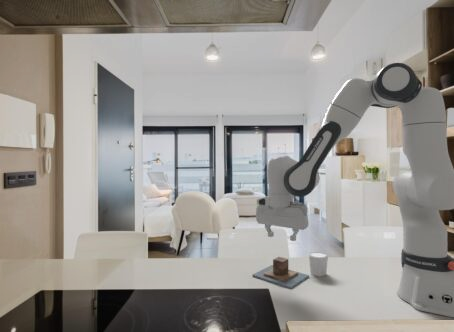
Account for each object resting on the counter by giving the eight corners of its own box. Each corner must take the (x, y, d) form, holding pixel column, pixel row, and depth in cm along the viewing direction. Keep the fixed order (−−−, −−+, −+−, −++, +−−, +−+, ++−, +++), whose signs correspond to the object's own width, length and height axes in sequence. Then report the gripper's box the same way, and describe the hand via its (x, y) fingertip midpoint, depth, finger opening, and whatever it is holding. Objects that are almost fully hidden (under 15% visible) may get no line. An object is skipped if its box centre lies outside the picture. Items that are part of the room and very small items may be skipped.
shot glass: (305, 271, 111) (304, 253, 110) (318, 268, 114) (318, 250, 113) (317, 278, 104) (317, 258, 104) (332, 274, 107) (332, 256, 107)
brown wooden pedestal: (297, 274, 106) (297, 258, 106) (285, 282, 100) (285, 265, 100) (276, 268, 112) (276, 253, 112) (263, 275, 106) (263, 259, 106)
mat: (309, 276, 106) (309, 275, 106) (291, 288, 96) (291, 287, 96) (272, 266, 116) (272, 265, 116) (252, 276, 107) (252, 274, 107)
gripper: (311, 201, 101) (312, 241, 101) (262, 198, 115) (263, 232, 115) (302, 203, 96) (303, 245, 96) (253, 199, 110) (254, 236, 110)
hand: (281, 238), depth 106 cm, fingers open, 8 cm apart
